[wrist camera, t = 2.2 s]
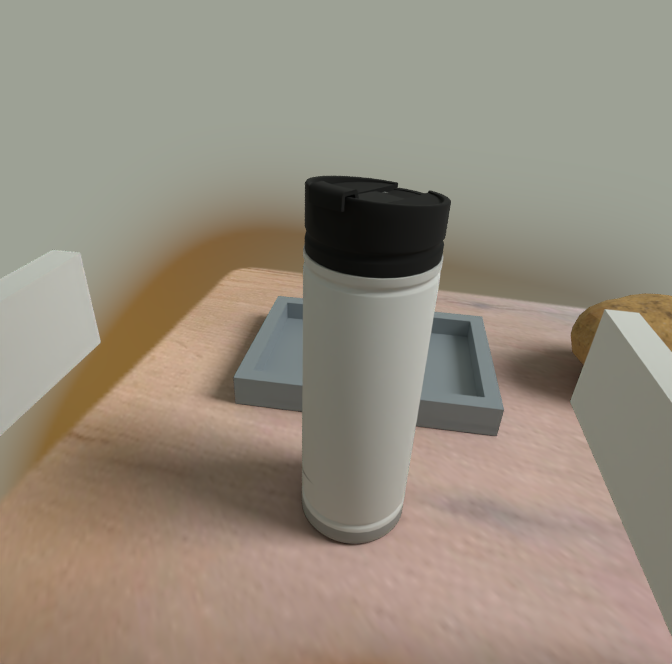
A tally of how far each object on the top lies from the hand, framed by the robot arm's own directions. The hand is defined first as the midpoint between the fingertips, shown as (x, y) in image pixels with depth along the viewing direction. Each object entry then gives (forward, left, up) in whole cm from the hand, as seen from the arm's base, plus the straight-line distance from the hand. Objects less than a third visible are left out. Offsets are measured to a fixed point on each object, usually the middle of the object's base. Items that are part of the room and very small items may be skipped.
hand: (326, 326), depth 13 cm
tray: (0, -25, -18) cm, 31 cm away
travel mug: (0, -10, -19) cm, 21 cm away
